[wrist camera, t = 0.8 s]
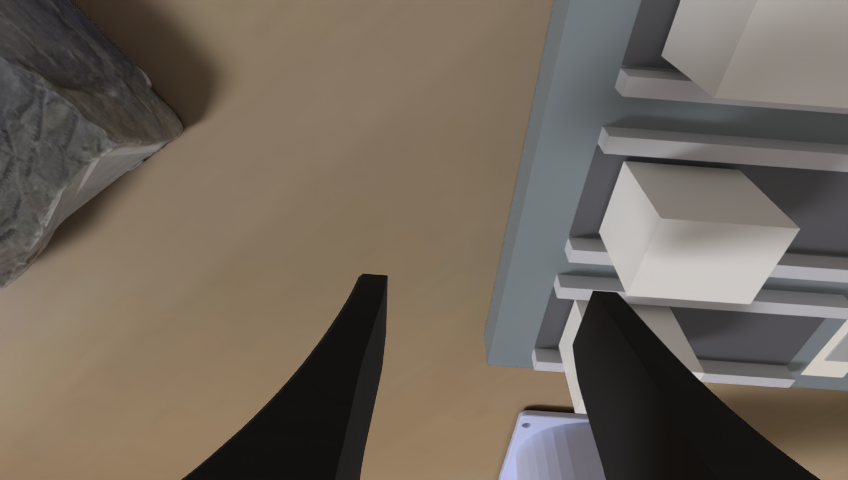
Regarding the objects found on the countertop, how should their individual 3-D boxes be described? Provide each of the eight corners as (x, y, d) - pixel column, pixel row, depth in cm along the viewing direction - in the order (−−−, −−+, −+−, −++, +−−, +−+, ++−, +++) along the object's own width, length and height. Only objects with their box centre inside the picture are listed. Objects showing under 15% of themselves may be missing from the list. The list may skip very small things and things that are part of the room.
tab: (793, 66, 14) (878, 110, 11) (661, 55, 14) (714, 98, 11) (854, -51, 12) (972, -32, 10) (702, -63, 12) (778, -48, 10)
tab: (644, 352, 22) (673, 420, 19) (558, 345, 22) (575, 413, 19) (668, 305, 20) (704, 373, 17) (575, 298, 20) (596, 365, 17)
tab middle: (703, 239, 18) (750, 304, 15) (598, 231, 18) (627, 295, 15) (739, 169, 16) (800, 228, 14) (624, 161, 16) (661, 218, 14)
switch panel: (824, 358, 25) (861, 405, 23) (484, 334, 25) (488, 379, 23) (1235, -112, 13) (1395, -110, 11) (589, -166, 13) (619, -176, 11)
